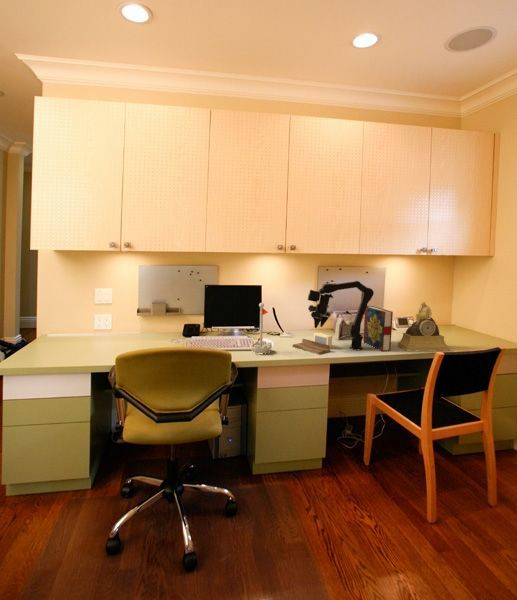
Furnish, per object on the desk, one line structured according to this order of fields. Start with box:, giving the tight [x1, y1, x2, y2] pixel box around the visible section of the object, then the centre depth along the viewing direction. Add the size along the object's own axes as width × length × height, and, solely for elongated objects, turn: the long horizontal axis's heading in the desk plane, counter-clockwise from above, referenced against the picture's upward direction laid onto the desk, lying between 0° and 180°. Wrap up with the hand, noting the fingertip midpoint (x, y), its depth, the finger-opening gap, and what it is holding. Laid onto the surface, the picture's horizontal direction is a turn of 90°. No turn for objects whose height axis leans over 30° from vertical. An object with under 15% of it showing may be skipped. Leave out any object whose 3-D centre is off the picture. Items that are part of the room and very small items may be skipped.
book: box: [362, 305, 394, 352], centre depth 253 cm, size 25×7×25 cm, turn 14°
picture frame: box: [313, 332, 333, 349], centre depth 251 cm, size 4×12×8 cm, turn 40°
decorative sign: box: [334, 317, 354, 341], centre depth 279 cm, size 23×3×15 cm, turn 141°
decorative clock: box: [397, 301, 451, 352], centre depth 250 cm, size 28×13×30 cm, turn 95°
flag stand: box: [249, 302, 273, 354], centre depth 234 cm, size 13×13×30 cm
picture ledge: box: [292, 338, 331, 355], centre depth 244 cm, size 10×22×4 cm, turn 40°
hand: (318, 327), depth 247 cm, fingers open, 9 cm apart
